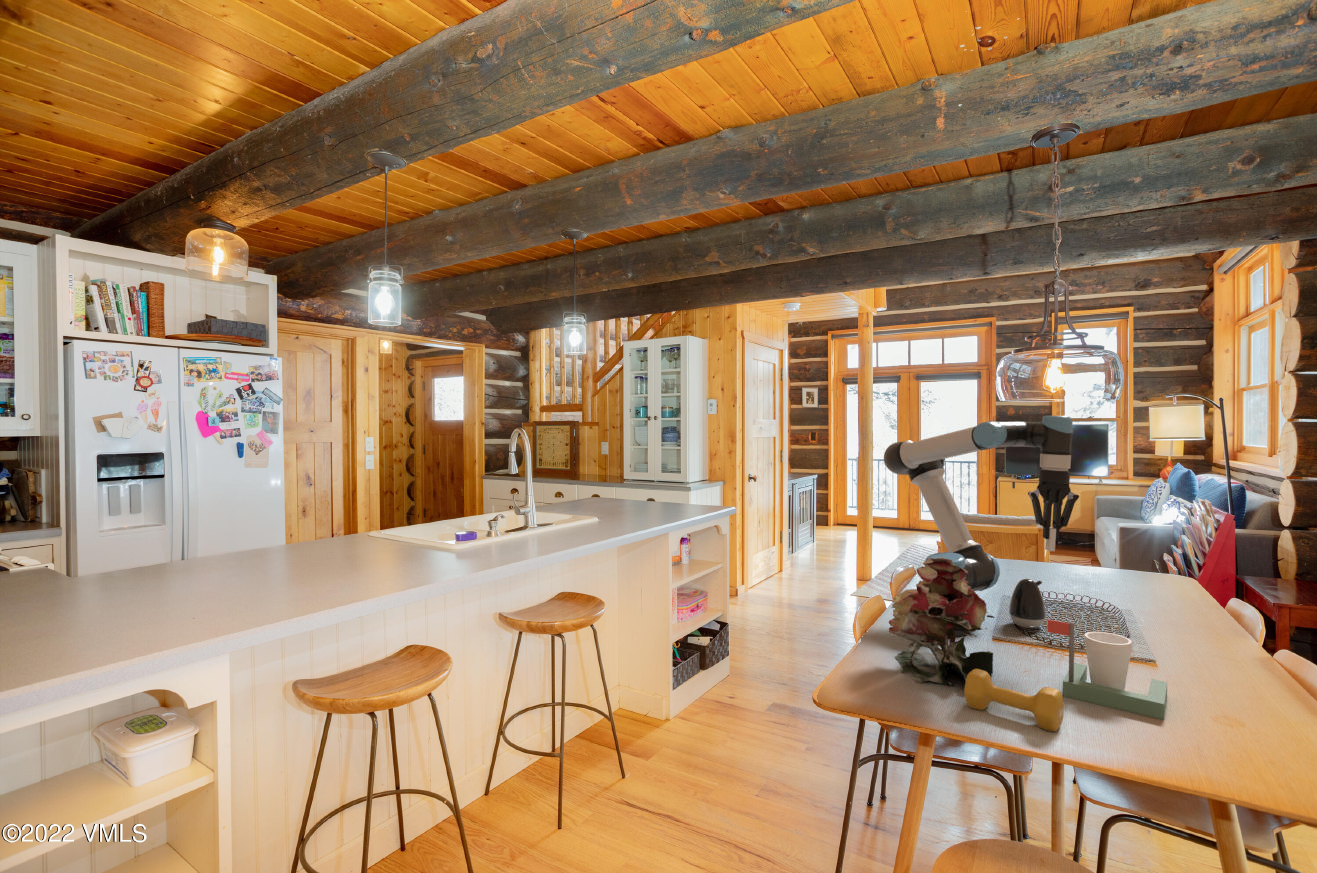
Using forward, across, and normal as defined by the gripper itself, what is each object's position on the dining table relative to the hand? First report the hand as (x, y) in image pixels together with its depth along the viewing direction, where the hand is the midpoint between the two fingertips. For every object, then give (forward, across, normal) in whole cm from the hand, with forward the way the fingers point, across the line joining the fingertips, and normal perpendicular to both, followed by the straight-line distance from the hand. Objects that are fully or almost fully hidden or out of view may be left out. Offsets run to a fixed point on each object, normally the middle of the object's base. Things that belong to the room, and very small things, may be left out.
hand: (1050, 550), depth 183 cm
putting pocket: (+28, -1, +32) cm, 43 cm away
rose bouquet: (+30, +35, +23) cm, 51 cm away
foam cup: (+28, -2, +30) cm, 42 cm away
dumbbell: (+29, +26, +48) cm, 62 cm away
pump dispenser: (+29, -3, -20) cm, 35 cm away
